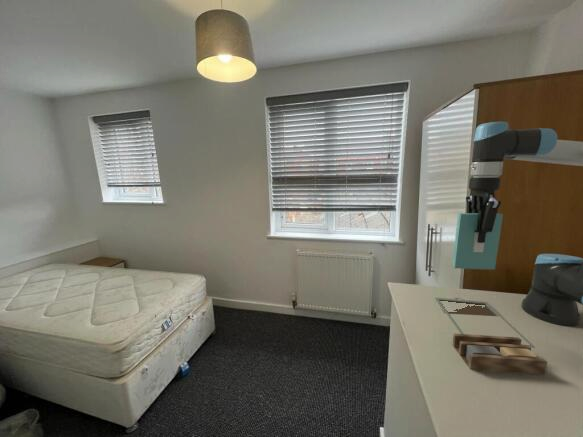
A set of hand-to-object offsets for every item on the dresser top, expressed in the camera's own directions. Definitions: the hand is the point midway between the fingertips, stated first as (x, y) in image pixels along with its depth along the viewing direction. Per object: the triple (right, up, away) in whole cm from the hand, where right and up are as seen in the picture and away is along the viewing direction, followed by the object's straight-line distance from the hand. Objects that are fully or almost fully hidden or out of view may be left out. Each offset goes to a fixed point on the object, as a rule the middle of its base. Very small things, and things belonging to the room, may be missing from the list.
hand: (475, 250), depth 79 cm
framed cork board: (+8, -27, +11) cm, 31 cm away
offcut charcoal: (-6, -30, -10) cm, 32 cm away
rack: (-1, -31, -9) cm, 32 cm away
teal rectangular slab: (0, -6, +1) cm, 6 cm away
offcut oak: (+3, -30, -11) cm, 32 cm away
